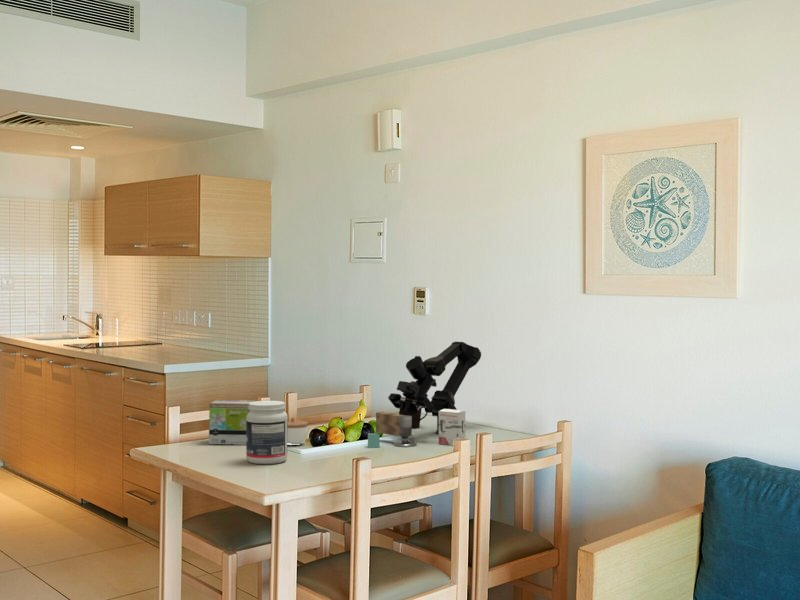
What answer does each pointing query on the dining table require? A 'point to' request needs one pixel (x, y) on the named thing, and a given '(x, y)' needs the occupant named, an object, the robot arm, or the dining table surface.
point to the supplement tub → (266, 432)
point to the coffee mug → (417, 419)
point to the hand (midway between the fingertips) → (398, 420)
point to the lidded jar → (297, 431)
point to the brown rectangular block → (394, 424)
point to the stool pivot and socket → (375, 443)
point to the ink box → (451, 425)
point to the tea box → (228, 421)
